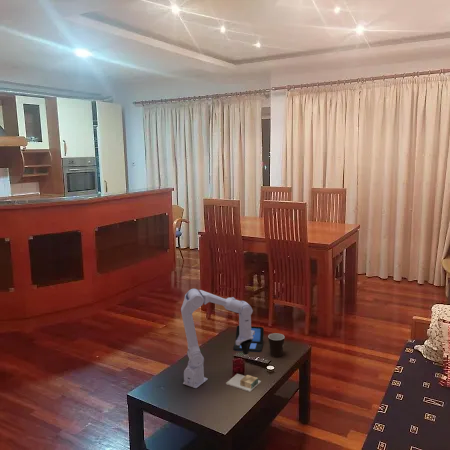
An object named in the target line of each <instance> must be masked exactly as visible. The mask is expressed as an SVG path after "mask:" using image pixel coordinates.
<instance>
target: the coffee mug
mask: <svg viewBox="0 0 450 450" xmlns="http://www.w3.org/2000/svg"><path fill="white" fill-rule="evenodd" d="M267 337H268V338H267V340H268V345H269V351H270V352H269V353H270V356H271V357H273V356H274V357H273V358H281V357H283V355H284V354H283V353H284V347H285V346H284V344H285V335H284V334H282V333H279V332H278V333H276V332H274V333H270V334H268V336H267Z"/></svg>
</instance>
